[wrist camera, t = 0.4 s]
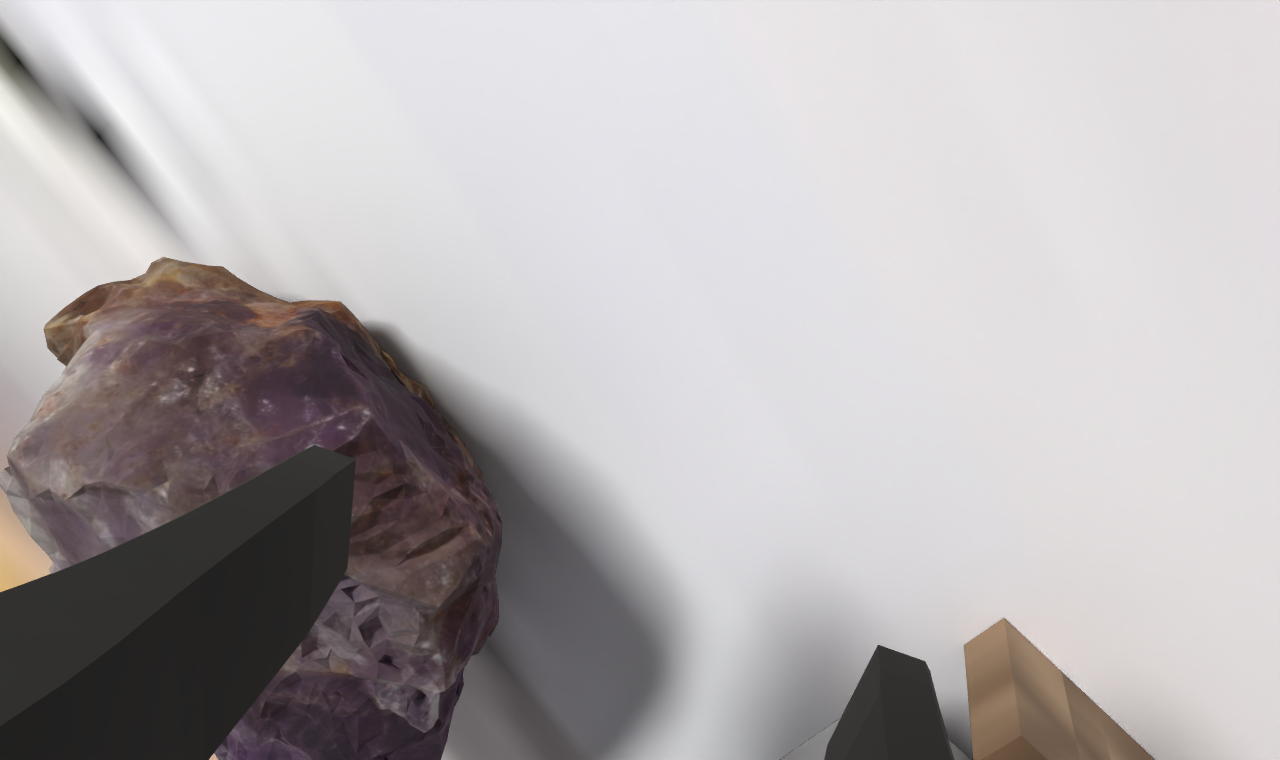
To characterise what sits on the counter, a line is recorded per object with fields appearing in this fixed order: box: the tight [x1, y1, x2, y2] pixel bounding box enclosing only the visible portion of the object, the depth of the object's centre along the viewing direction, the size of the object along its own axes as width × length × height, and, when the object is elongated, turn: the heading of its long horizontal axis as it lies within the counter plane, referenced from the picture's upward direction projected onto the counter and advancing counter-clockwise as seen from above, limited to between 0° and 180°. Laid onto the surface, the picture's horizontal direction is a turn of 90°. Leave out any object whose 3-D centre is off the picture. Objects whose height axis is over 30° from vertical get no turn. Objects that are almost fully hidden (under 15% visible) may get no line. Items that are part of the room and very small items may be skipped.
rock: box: [0, 257, 502, 760], centre depth 23 cm, size 12×9×10 cm
